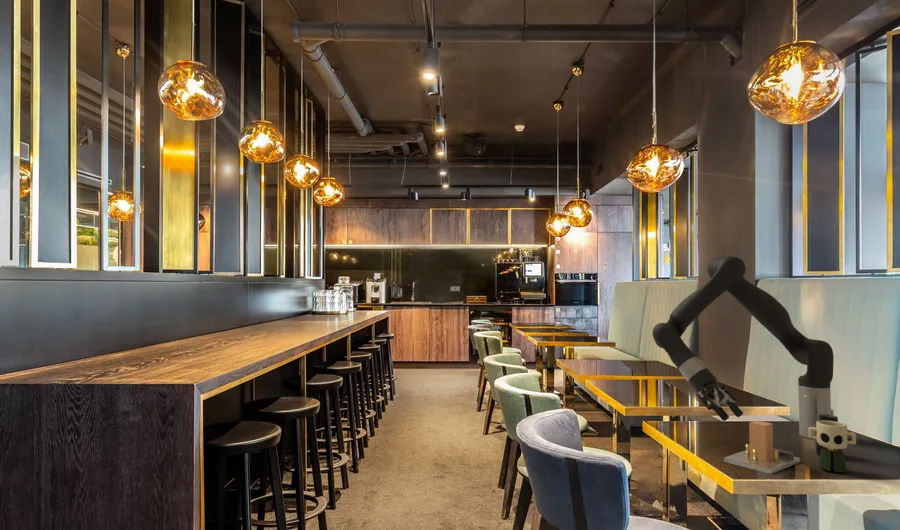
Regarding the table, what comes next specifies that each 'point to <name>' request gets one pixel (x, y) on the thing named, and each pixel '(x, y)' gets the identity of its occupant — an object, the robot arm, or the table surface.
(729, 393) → the robot arm
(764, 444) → the block
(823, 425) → the character mug
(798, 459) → the plate
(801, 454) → the table surface
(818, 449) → the supplement bottle
